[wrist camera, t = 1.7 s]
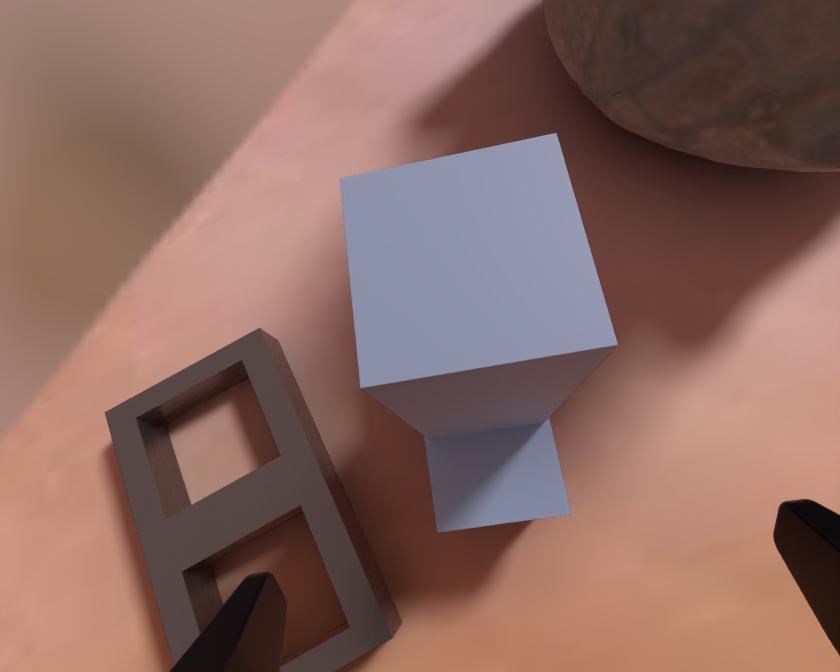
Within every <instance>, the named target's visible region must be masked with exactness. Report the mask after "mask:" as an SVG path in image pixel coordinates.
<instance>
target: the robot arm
mask: <svg viewBox="0 0 840 672" xmlns="http://www.w3.org/2000/svg"><path fill="white" fill-rule="evenodd" d="M773 537H774V542H775V545H776V548H777V550H778V551H779V553H780V555H781V557H782V558H783V560H784V562H785V564H786V565H787V567H788V569H789V571H790V572H791V574H792V576H793V578H794V579H795V581H796V583H797V585H798V586H799V588H800V590H801V592H802V593H803V595H804V597H805V599H806V600H807V602H808V604H809V606H810V607H811V609H812V611H813V612H814V614H815V616H816V618H817V619H818V621H819V623H820V625H821V626H822V628H823V630H824V631H825V633H826V635H827V636H828V638H829V640H830V641H831V643H832V645H833V646H834V648H835V649H836V651H837V652H838V654H839V655H840V515H839V514H837V513H835V512H833V511H832V510H830V509H828V508H826V507H824V506H822V505H821V504H819V503H817V502H815V501H812V500H809V499H799V500H792V501H785V502H783V503H781V504H780V506H779V509H778V514H777V518H776V523H775V528H774V533H773ZM286 611H287V606H286V600H285V597H284V595H283V593H282V591H281V589H280V587H279V586H278V584H277V582H276V580H275V578H274V576H273V575H272V574H271V573H269V572H263V573H256V574H251V575H249V576H247V577H246V578H245V579H244V580H243V581H242V583H241V584H240V585H239V586H238V588H237V589H236V590H235V591H234V592H233V594H232V595H231V596H230V597H229V599H228V600H227V601H226V602H225V604H224V605H223V606H222V607H221V608H220V610H219V611H218V612H217V613H216V615H215V616H214V617H213V618H212V620H211V621H210V622H209V623H208V624H207V626H206V627H205V628H204V629H203V631H202V632H201V633H200V634H199V636H198V637H197V638H196V639H195V641H194V642H193V643H192V644H191V645H190V647H189V648H188V649H187V650H186V652H185V653H184V654H183V655H182V657H181V658H180V659H179V660H178V661H177V663H176V664H175V665H174V666H173V668H172V669H171V670H170V671H169V672H280V664H281V656H282V647H283V638H284V629H285V621H286Z"/></svg>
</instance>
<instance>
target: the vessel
mask: <svg viewBox="0 0 840 672" xmlns="http://www.w3.org/2000/svg"><path fill="white" fill-rule="evenodd" d="M543 6H544V13H545V21H546V28H547V31H548V34H549V37H550V40H551V43H552V46H553V48H554V50H555V52H556V54H557V56H558V58H559V59H560V61H561V63H562V64H563V66H564V68H565V69H566V71H567V73H568V75H569V76H570V77H571V78H572V79H573V80H574V81H575V83H576V84H577V86H578V87H579V89H580V90H581V91H582V93H583V94H584V95H585V96H586V97H587V98H588V99H589V100H590V101H591V102H592V103H593V104H594V105H595V106H596V107H597V108H598V109H599V110H600V111H602V112H603V113H604V114H605V115H606V116H607V117H608V118H609V119H610V120H611V121H613V122H614V123H616V124H618V125H619V126H621V127H622V128H624V129H627V130H629V131H631V132H633V133H635V134H638V135H640V136H642V137H644V138H646V139H649V140H651V141H653V142H655V143H658V144H660V145H663V146H665V147H668V148H671V149H675V150H678V151H682V152H685V153H688V154H692V155H695V156H699V157H702V158H706V159H709V160H712V161H715V162H718V163H725V164H731V165H738V166H744V167H754V168H766V169H779V170H790V171H797V172H840V0H543Z"/></svg>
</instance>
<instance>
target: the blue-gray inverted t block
mask: <svg viewBox="0 0 840 672" xmlns="http://www.w3.org/2000/svg"><path fill="white" fill-rule="evenodd" d="M340 186H341V196H342V206H343V217H344V227H345V237H346V247H347V257H348V267H349V277H350V287H351V297H352V307H353V318H354V328H355V338H356V348H357V358H358V368H359V378H360V388H361V389H362V390H364V391H365V392H366V393H368V394H369V395H370V396H372V397H373V398H374V399H376V400H377V401H378V402H380V403H381V404H382V405H384V406H385V407H386V408H388V409H389V410H390V411H392V412H393V413H394V414H396V415H397V416H398V417H400V418H401V419H402V420H404V421H405V422H406V423H408V424H409V425H410V426H412V427H413V428H414V429H416V430H417V431H418V432H419V433H421V434H422V435H423V436H424V441H425V448H426V455H427V462H428V470H429V477H430V484H431V491H432V498H433V506H434V513H435V520H436V527H437V533H439V532H446V531H454V530H461V529H468V528H475V527H482V526H490V525H497V524H504V523H511V522H519V521H526V520H533V519H540V518H547V517H555V516H562V515H569V514H571V511H570V507H569V503H568V498H567V494H566V489H565V485H564V481H563V476H562V472H561V468H560V463H559V459H558V454H557V450H556V446H555V441H554V437H553V432H552V428H551V424H550V419H549V417H550V416H551V415H552V414H553V413H554V412H555V411H556V410H557V409H558V408H559V407H560V405H561V404H562V403H563V402H564V401H565V400H566V399H567V398H568V397H569V396H570V395H571V394H572V393H573V392H574V391H575V390H576V389H577V387H578V386H579V385H580V384H581V383H582V382H583V381H584V380H585V379H586V378H587V377H588V376H589V375H590V374H591V373H592V372H593V371H594V369H595V368H596V367H597V366H598V365H599V364H600V363H601V362H602V361H603V360H604V359H605V358H606V357H607V356H608V355H609V354H610V353H611V351H612V350H613V349H614V348H615V347H616V346H617V345H618V343H617V340H616V336H615V333H614V329H613V326H612V323H611V319H610V316H609V312H608V309H607V305H606V302H605V298H604V295H603V292H602V288H601V285H600V281H599V278H598V274H597V271H596V267H595V264H594V261H593V257H592V254H591V250H590V247H589V243H588V240H587V236H586V233H585V229H584V226H583V223H582V219H581V216H580V212H579V209H578V205H577V202H576V198H575V195H574V192H573V188H572V185H571V181H570V178H569V174H568V171H567V167H566V164H565V161H564V157H563V154H562V150H561V147H560V143H559V140H558V136H557V133H554V134H549V135H544V136H539V137H535V138H530V139H525V140H520V141H516V142H511V143H506V144H501V145H496V146H492V147H487V148H482V149H477V150H473V151H468V152H463V153H458V154H454V155H449V156H444V157H439V158H435V159H430V160H425V161H420V162H416V163H411V164H406V165H401V166H397V167H392V168H387V169H382V170H377V171H373V172H368V173H363V174H358V175H354V176H349V177H344V178H340Z"/></svg>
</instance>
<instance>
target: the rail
mask: <svg viewBox="0 0 840 672" xmlns="http://www.w3.org/2000/svg"><path fill="white" fill-rule="evenodd" d="M248 377H249V378H250V381H251V383H252V386H253V388H254V391H255V393H256V396H257V398H258V401H259V403H260V406H261V408H262V411H263V413H264V416H265V418H266V421H267V423H268V426H269V428H270V431H271V433H272V436H273V438H274V441H275V443H276V446H277V448H278V450H279V453H280V455H281V456H279V457H277V458H275V459H274V460H272V461H270V462H268V463H266V464H265V465H263V466H261V467H259V468H257V469H256V470H254V471H252V472H250V473H248V474H247V475H245V476H243V477H241V478H239V479H238V480H236V481H234V482H232V483H230V484H229V485H227V486H225V487H223V488H221V489H220V490H218V491H216V492H214V493H212V494H211V495H209V496H207V497H205V498H203V499H202V500H200V501H198V502H196V503H194V504H193V505H191V503H190V500H189V497H188V494H187V490H186V487H185V484H184V481H183V478H182V475H181V472H180V469H179V466H178V462H177V459H176V456H175V453H174V450H173V447H172V444H171V441H170V437H169V434H168V431H167V428H166V425H165V423H166V422H168V421H170V420H172V419H174V418H175V417H177V416H179V415H181V414H183V413H185V412H186V411H188V410H190V409H192V408H194V407H195V406H197V405H199V404H201V403H203V402H205V401H206V400H208V399H210V398H212V397H214V396H215V395H217V394H219V393H221V392H223V391H225V390H226V389H228V388H230V387H232V386H234V385H236V384H237V383H239V382H241V381H243V380H245V379H246V378H248ZM105 415H106V419H107V423H108V426H109V430H110V434H111V437H112V441H113V445H114V448H115V452H116V456H117V459H118V463H119V467H120V470H121V474H122V478H123V481H124V485H125V489H126V492H127V496H128V499H129V503H130V507H131V510H132V514H133V518H134V521H135V525H136V529H137V532H138V536H139V540H140V543H141V547H142V551H143V554H144V558H145V562H146V565H147V569H148V572H149V576H150V580H151V583H152V587H153V591H154V594H155V598H156V602H157V605H158V609H159V613H160V616H161V620H162V624H163V627H164V631H165V635H166V638H167V642H168V645H169V649H170V653H171V656H172V660H173V664H174V665H175V664H176V663H177V661H178V660H179V659H180V658H181V657H182V655H183V654H184V653H185V652H186V650H187V649H188V648H189V647H190V645H191V644H192V643H193V642H194V641H195V639H196V638H197V637H198V636H199V634H200V633H201V632H202V631H203V629H204V628H205V627H206V626H207V624H208V623H209V622H210V621H211V620H212V618H213V617H214V616H215V615H216V613H217V612H218V611H219V610H220V608H221V607H222V606H223V603H222V600H221V597H220V594H219V590H218V587H217V584H216V581H215V578H214V575H213V572H212V569H211V565H210V563H212V562H213V561H215V560H217V559H219V558H221V557H222V556H224V555H226V554H228V553H229V552H231V551H233V550H235V549H237V548H238V547H240V546H242V545H244V544H246V543H247V542H249V541H251V540H253V539H254V538H256V537H258V536H260V535H262V534H263V533H265V532H267V531H269V530H271V529H272V528H274V527H276V526H278V525H279V524H281V523H283V522H285V521H287V520H288V519H290V518H292V517H294V516H295V515H297V514H299V513H301V512H303V513H304V515H305V518H306V520H307V522H308V525H309V527H310V530H311V532H312V535H313V537H314V540H315V542H316V545H317V547H318V550H319V552H320V555H321V557H322V560H323V562H324V565H325V567H326V570H327V572H328V575H329V577H330V580H331V582H332V585H333V587H334V590H335V592H336V594H337V597H338V599H339V602H340V604H341V607H342V609H343V612H344V614H345V617H346V619H347V623H345V624H344V625H342V626H340V627H338V628H337V629H335V630H333V631H331V632H329V633H328V634H326V635H324V636H322V637H321V638H319V639H317V640H315V641H314V642H312V643H310V644H308V645H307V646H305V647H303V648H301V649H300V650H298V651H296V652H294V653H293V654H291V655H289V656H287V657H286V658H284V659H282V660H281V664H280V672H334V671H336V670H337V669H339V668H341V667H343V666H344V665H346V664H348V663H350V662H351V661H353V660H355V659H357V658H358V657H360V656H362V655H364V654H365V653H367V652H369V651H371V650H372V649H374V648H376V647H378V646H379V645H381V644H383V643H385V642H386V641H388V640H390V639H392V638H393V637H394V635H395V633H396V632H397V630H398V628H399V627H400V625H401V623H402V621H401V618H400V616H399V614H398V612H397V609H396V607H395V605H394V603H393V600H392V598H391V596H390V593H389V591H388V589H387V587H386V584H385V582H384V580H383V578H382V575H381V573H380V571H379V568H378V566H377V564H376V562H375V559H374V557H373V555H372V553H371V550H370V548H369V546H368V544H367V541H366V539H365V537H364V534H363V532H362V530H361V528H360V525H359V523H358V521H357V519H356V516H355V514H354V512H353V509H352V507H351V505H350V503H349V500H348V498H347V496H346V494H345V491H344V489H343V487H342V484H341V482H340V480H339V478H338V475H337V473H336V471H335V469H334V466H333V464H332V462H331V460H330V457H329V455H328V453H327V450H326V448H325V446H324V444H323V441H322V439H321V437H320V435H319V432H318V430H317V428H316V425H315V423H314V421H313V419H312V416H311V414H310V412H309V410H308V407H307V405H306V403H305V401H304V398H303V396H302V394H301V391H300V389H299V387H298V385H297V382H296V380H295V378H294V376H293V373H292V371H291V369H290V366H289V364H288V362H287V360H286V357H285V355H284V353H283V351H282V348H281V346H280V344H279V342H278V340H277V339H275V338H274V337H272V336H271V335H269V334H268V333H266V332H265V331H263V330H262V329H261V328H258V329H256V330H255V331H253V332H251V333H249V334H247V335H245V336H244V337H242V338H240V339H238V340H236V341H234V342H233V343H231V344H229V345H227V346H225V347H224V348H222V349H220V350H218V351H216V352H214V353H213V354H211V355H209V356H207V357H205V358H203V359H202V360H200V361H198V362H196V363H194V364H192V365H191V366H189V367H187V368H185V369H183V370H181V371H180V372H178V373H176V374H174V375H172V376H170V377H169V378H167V379H165V380H163V381H161V382H159V383H158V384H156V385H154V386H152V387H150V388H148V389H147V390H145V391H143V392H141V393H139V394H137V395H136V396H134V397H132V398H130V399H128V400H127V401H125V402H123V403H121V404H119V405H117V406H116V407H114V408H112V409H110V410H108V411H106V412H105Z"/></svg>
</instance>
